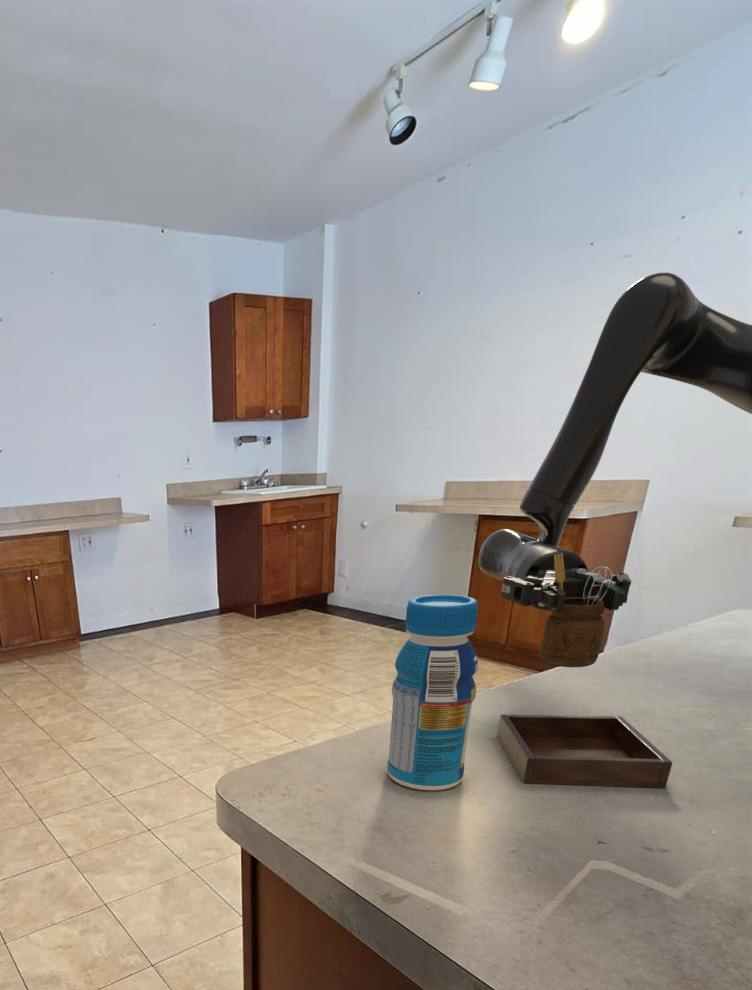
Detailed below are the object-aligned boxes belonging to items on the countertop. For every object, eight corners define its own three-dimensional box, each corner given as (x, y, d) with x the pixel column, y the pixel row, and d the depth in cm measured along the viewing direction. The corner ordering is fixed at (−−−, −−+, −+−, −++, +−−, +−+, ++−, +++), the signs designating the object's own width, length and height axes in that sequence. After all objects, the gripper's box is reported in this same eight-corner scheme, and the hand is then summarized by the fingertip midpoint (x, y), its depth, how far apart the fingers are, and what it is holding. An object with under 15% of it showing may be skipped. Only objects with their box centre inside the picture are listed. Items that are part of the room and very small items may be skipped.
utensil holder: (579, 672, 72) (601, 561, 66) (526, 661, 77) (542, 557, 71) (607, 660, 74) (631, 553, 69) (554, 650, 79) (572, 550, 74)
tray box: (616, 738, 79) (621, 716, 77) (665, 788, 67) (673, 762, 65) (496, 736, 82) (500, 714, 81) (523, 783, 70) (527, 758, 69)
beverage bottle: (370, 777, 74) (382, 603, 65) (410, 755, 78) (426, 590, 70) (439, 800, 68) (461, 611, 59) (478, 775, 72) (503, 596, 64)
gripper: (490, 549, 85) (522, 569, 70) (612, 543, 81) (673, 563, 67) (483, 605, 88) (512, 636, 73) (599, 602, 85) (655, 634, 70)
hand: (588, 601), depth 70 cm, fingers closed on utensil holder, 5 cm apart
